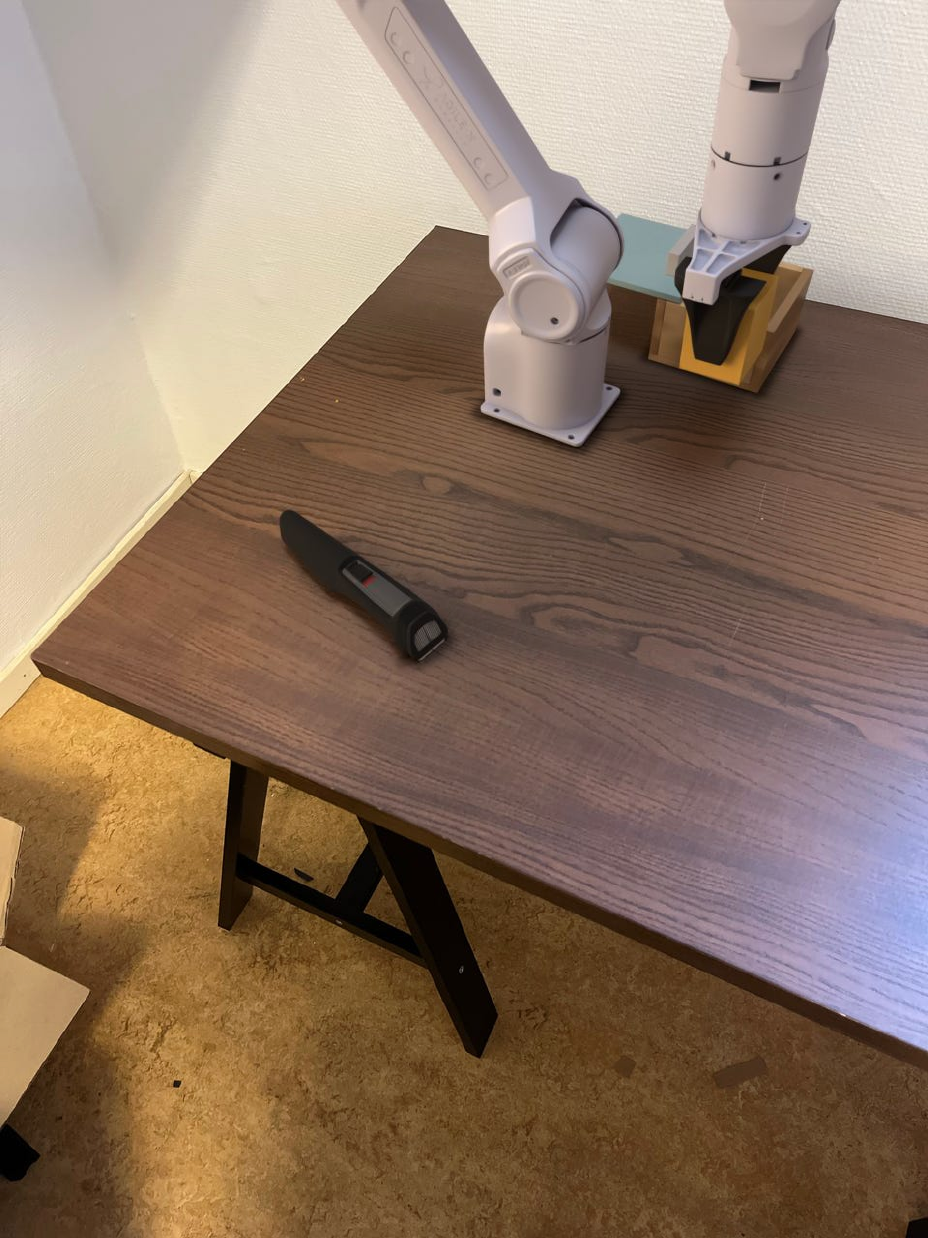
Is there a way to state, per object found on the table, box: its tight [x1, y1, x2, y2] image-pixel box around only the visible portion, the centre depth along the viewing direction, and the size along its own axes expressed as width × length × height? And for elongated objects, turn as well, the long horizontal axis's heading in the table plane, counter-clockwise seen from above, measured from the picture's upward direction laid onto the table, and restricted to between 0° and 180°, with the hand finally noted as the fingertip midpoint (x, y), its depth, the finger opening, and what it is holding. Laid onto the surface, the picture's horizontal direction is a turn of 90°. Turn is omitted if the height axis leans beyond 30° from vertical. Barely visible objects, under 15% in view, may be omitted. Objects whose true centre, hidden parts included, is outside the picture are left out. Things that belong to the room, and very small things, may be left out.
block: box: [679, 268, 779, 385], centre depth 61 cm, size 5×5×6 cm
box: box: [648, 261, 814, 394], centre depth 75 cm, size 10×10×6 cm
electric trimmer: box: [279, 509, 449, 662], centre depth 61 cm, size 4×16×3 cm, turn 45°
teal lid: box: [606, 212, 696, 303], centre depth 74 cm, size 10×10×3 cm
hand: (722, 340), depth 62 cm, fingers closed on block, 4 cm apart
